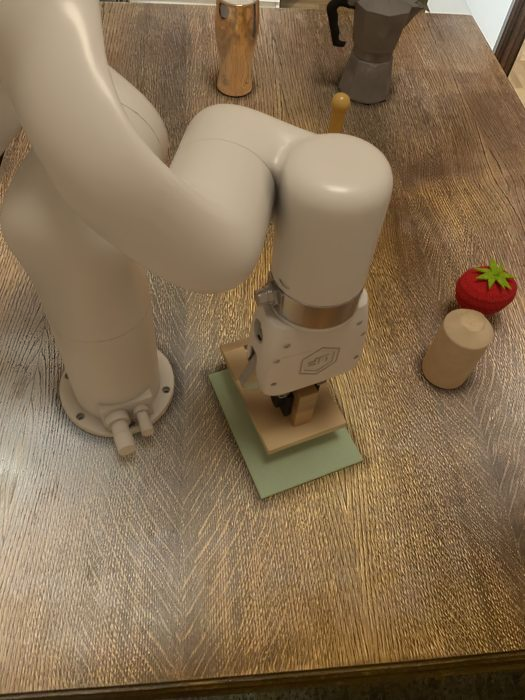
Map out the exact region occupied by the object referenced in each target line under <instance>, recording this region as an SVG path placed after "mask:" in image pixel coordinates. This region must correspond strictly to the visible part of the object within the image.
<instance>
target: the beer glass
mask: <svg viewBox="0 0 525 700" xmlns="http://www.w3.org/2000/svg"><path fill="white" fill-rule="evenodd" d="M260 8H261V7H260V0H215V9H214V10H215V11H214V33H215V41H216V47H217V48H216V49H217V54H218V61H219V68H218V69H219V70H218V75H217V81H216V87H217V89H218V91H220V92H221V93H222V94H224V95H226V96H229V97H242V96H245V95H248V94H249V93H250V92H251V91H252V90H253V78H252V63H253V58H254V54H255V50H256V46H257V42H258V37H259V31H260V18H261V17H260V15H261V13H260Z"/></svg>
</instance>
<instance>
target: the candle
mask: <svg viewBox="0 0 525 700" xmlns="http://www.w3.org/2000/svg"><path fill="white" fill-rule="evenodd" d="M494 335H495V334H494V328H493V326H492V324H491V322H490V321H489V320H488V318H486V316H485V317H484V315H483V314H482V313H480V312H478V311H475V310H470V309H461V308H457V309H453V310H452V311H450V312H448V313H447V314H446V315H445V317H444V319H443V320H442V323H441V324H440V326H439V328H438V330H437V332H436V333H435V336H434V337H433V339H432V342H431V343H430V345H429V348H428V349H427V351H426V352H425V355H424V357H423V359H422V362H421V370H422V373H423V375H424V377H425V379H427V381H428V382H429V383H431V384H432V385H433V386H436V387H437V388H440V389H444V390H453V389H457V388H459V387H460V386H462V385H463V384H464V383H465V382H466V380H467V379H468V378H469V376H470V374H471V373H472V371H473V370H474V368H475V367H476V365H477V364H478V363H479V361H480V359H481V358H482V357H483V355H484V354H485V352H486V350H487V349H488V347H489V346H490V344H491V343H492V342H493V340H494Z"/></svg>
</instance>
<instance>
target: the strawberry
mask: <svg viewBox="0 0 525 700" xmlns="http://www.w3.org/2000/svg"><path fill="white" fill-rule="evenodd" d="M499 260H500V266H498V265H497V263H496V260H495V258H494V256H493V257H491V259H490V262H489V265H481V266H475V267H472V268H469V269H467V270H466V271H464V272H463V273H462V274H461V276H459V278H458V279H457V280H456V283H455V289H454V290H455V292H454V297H455V301H456V303H457V304H458V306H459V307H460V308H459V309H470V310H475V311H478V312H480V313H482V314H483V315H484V317H485V318H486V317H488V316H492V315H494V314H497V313H499V312H501V311H502V310H504V309H505V308H506V307H508V306H509V305H510V304H511V303H513V302H514V300H515V298H516V295H517V293H518V283H517V281H516V280H515V279H518V277H517V276H515V275H513V274H510V273H509V272H508V271H506V270H505V268H506V265H503V261H502V257H499Z"/></svg>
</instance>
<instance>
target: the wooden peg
mask: <svg viewBox="0 0 525 700" xmlns="http://www.w3.org/2000/svg"><path fill="white" fill-rule="evenodd" d="M330 106H331V114H330V120H329V125H328V132H327V133H340V134H343V128H344V122H345V118H346V114H347V111H348V110H349V109H350V107H351V100H350V98H349V96H348V95H347V94H346V93H343V92H341V91H340V92H337V93H335V94H334V95H333V96H332V98H331V99H330Z"/></svg>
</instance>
